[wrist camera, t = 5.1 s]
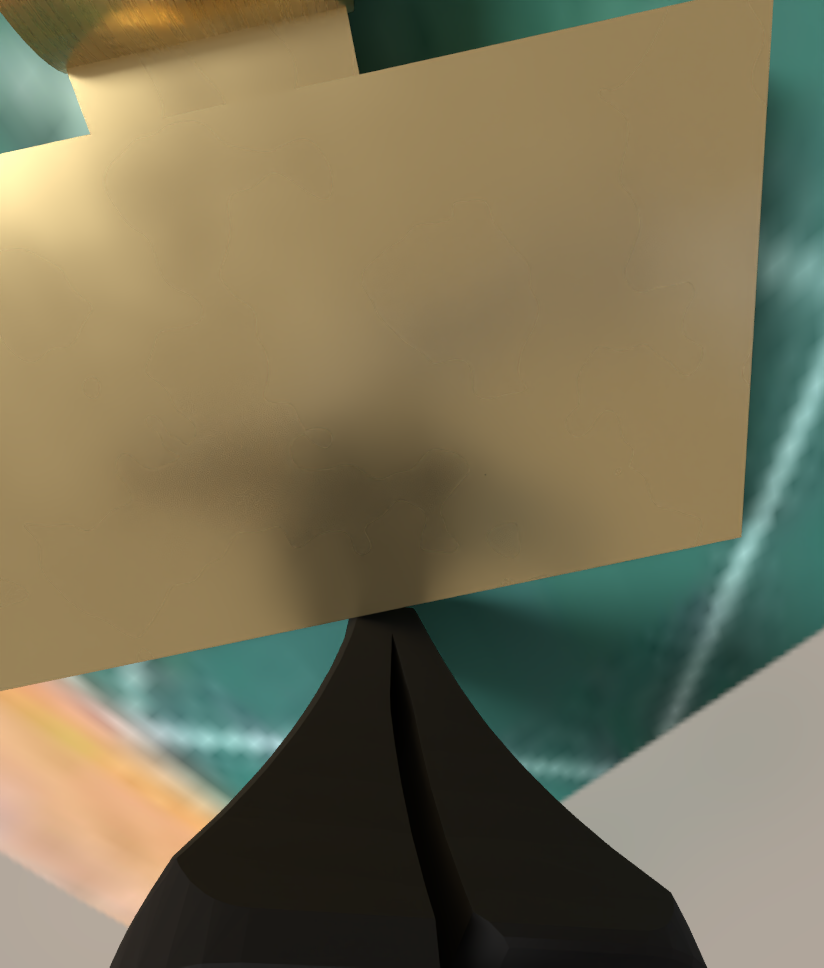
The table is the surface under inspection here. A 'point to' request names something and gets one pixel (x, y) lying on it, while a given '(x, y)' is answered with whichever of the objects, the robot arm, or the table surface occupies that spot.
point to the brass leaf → (364, 318)
